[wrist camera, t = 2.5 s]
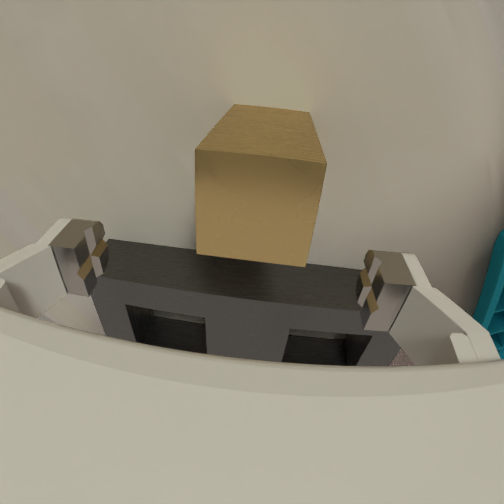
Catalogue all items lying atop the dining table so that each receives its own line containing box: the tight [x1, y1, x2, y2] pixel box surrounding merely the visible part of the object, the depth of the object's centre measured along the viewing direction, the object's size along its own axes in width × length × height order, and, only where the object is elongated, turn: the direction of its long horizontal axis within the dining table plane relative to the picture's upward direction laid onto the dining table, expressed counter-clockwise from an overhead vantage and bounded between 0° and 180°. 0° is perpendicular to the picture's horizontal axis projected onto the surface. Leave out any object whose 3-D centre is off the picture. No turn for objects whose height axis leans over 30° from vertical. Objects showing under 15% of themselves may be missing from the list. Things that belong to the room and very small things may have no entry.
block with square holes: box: [91, 239, 401, 366], centre depth 23 cm, size 22×10×4 cm, turn 85°
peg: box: [195, 104, 327, 267], centre depth 14 cm, size 4×4×8 cm
